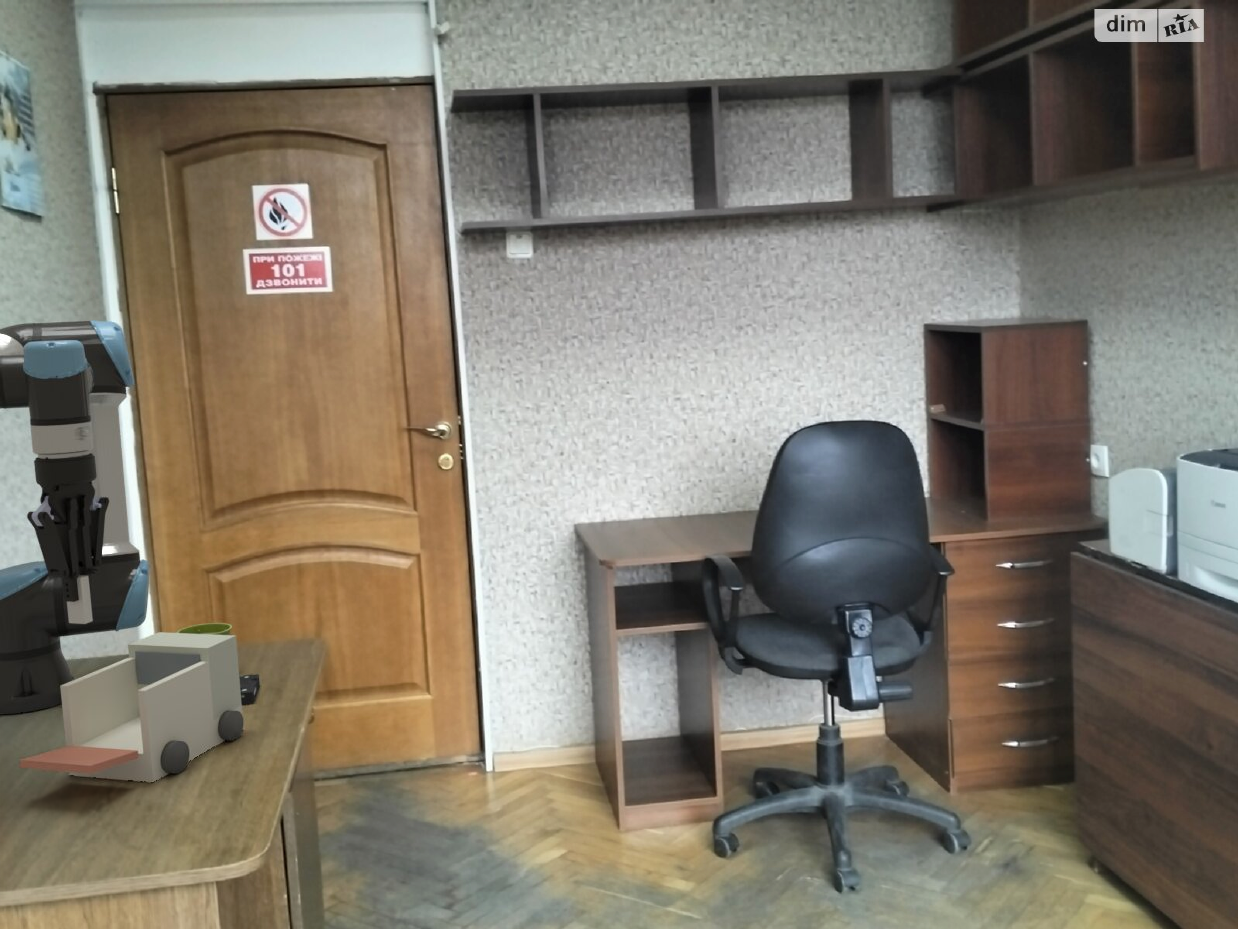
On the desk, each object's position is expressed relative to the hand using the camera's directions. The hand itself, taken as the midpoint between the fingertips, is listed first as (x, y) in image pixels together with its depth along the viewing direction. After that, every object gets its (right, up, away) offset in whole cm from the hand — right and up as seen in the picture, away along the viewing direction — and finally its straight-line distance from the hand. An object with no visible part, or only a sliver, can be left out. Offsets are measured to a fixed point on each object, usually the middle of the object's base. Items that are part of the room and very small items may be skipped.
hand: (80, 621), depth 159 cm
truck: (+7, -20, +10) cm, 24 cm away
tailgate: (+4, -18, -1) cm, 18 cm away
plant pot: (+1, -17, +48) cm, 51 cm away
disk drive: (+6, -18, +34) cm, 39 cm away
